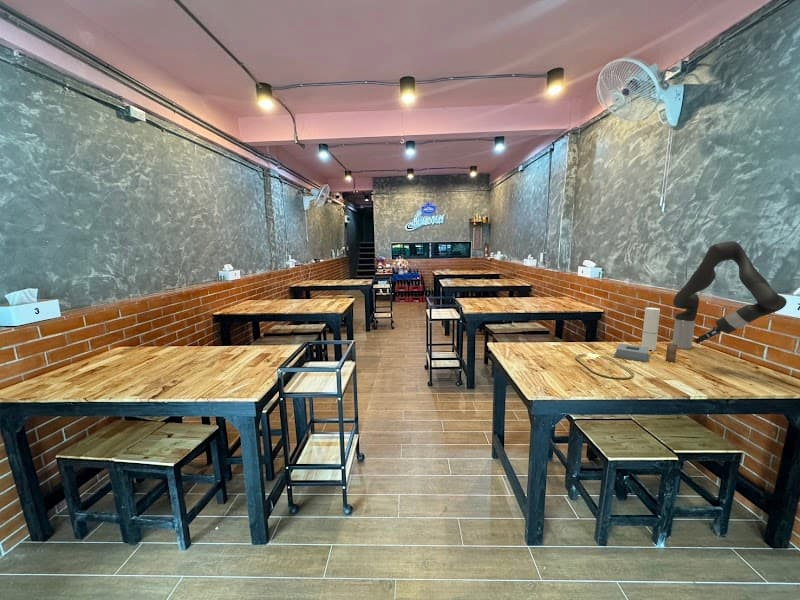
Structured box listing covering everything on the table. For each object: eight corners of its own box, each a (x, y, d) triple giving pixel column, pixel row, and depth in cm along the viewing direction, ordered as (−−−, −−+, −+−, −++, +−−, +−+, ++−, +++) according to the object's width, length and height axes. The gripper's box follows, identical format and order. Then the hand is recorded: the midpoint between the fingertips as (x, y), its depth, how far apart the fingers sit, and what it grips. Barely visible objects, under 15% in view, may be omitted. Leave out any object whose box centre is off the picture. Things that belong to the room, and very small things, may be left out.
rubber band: (603, 356, 191) (604, 354, 191) (642, 380, 157) (643, 377, 156) (569, 356, 192) (569, 353, 192) (600, 380, 158) (601, 377, 158)
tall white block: (655, 348, 203) (659, 308, 199) (656, 351, 197) (661, 310, 193) (640, 347, 207) (644, 307, 203) (641, 350, 201) (645, 309, 197)
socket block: (616, 350, 201) (617, 342, 200) (649, 355, 191) (650, 347, 190) (613, 357, 188) (614, 349, 188) (649, 363, 179) (649, 354, 178)
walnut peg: (665, 359, 184) (667, 342, 182) (674, 361, 181) (676, 344, 180) (665, 361, 181) (667, 344, 179) (675, 363, 178) (677, 345, 177)
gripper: (728, 314, 166) (695, 332, 177) (722, 318, 158) (687, 336, 168) (741, 326, 163) (707, 344, 174) (736, 331, 154) (700, 349, 165)
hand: (697, 340), depth 171 cm, fingers open, 8 cm apart
